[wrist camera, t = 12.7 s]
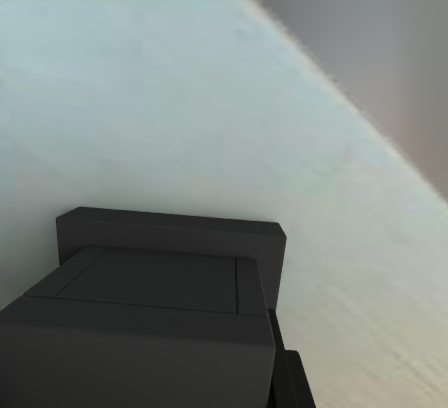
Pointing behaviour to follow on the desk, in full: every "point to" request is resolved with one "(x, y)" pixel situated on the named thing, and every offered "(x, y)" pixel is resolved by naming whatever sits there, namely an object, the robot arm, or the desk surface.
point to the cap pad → (139, 334)
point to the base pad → (177, 238)
